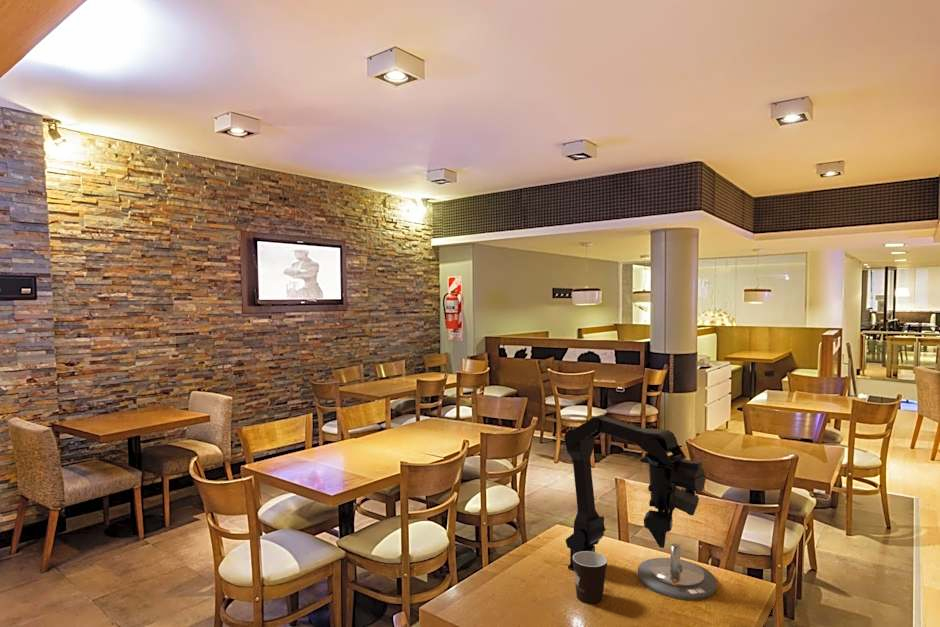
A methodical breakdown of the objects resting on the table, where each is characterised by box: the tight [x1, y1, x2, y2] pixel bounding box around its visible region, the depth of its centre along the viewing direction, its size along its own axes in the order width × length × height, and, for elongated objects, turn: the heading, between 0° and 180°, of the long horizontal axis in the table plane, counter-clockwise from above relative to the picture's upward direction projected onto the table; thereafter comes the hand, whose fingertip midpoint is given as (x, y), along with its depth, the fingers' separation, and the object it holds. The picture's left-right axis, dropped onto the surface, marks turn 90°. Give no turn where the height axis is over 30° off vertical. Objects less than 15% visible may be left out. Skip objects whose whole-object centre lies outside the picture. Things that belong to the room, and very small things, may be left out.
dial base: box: [637, 557, 718, 601], centre depth 152 cm, size 20×20×2 cm
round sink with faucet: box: [649, 543, 704, 587], centre depth 150 cm, size 16×14×10 cm
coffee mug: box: [573, 551, 608, 605], centre depth 144 cm, size 12×9×10 cm
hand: (664, 537), depth 143 cm, fingers open, 9 cm apart
